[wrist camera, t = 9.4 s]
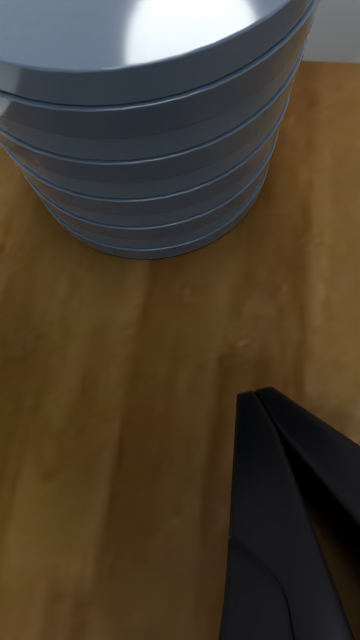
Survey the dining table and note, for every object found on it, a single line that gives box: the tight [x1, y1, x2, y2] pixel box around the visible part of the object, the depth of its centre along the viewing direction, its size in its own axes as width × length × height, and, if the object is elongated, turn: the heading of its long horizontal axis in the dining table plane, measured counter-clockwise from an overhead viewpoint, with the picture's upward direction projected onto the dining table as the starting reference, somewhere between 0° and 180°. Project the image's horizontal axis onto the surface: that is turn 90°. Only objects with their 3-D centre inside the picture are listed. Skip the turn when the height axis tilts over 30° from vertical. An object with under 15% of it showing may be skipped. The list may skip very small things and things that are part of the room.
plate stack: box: [0, 0, 320, 259], centre depth 18 cm, size 17×17×12 cm
